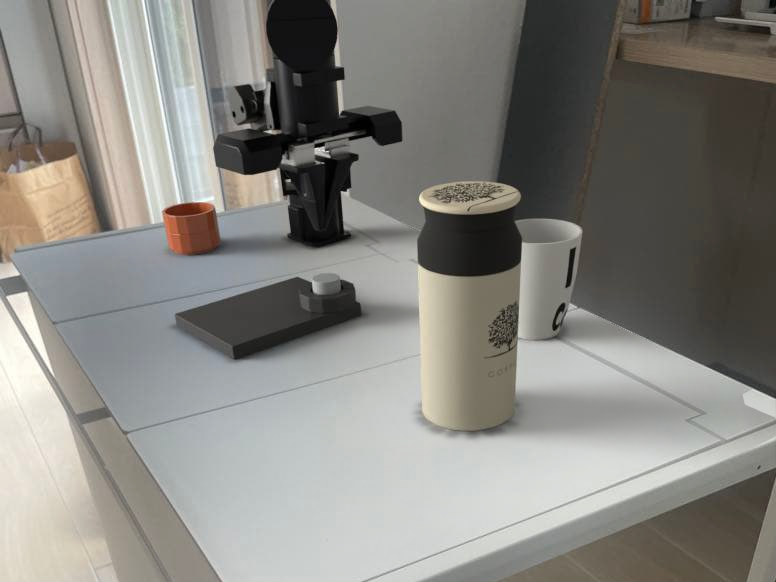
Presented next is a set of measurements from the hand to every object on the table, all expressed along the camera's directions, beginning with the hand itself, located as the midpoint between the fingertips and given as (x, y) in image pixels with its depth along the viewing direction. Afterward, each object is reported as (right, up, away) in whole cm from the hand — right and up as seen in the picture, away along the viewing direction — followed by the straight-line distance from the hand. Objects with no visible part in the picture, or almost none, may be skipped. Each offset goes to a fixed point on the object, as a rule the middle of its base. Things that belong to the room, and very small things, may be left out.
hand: (320, 229), depth 86 cm
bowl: (-19, +7, +27) cm, 34 cm away
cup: (+22, -10, 0) cm, 24 cm away
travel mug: (+14, -21, -13) cm, 29 cm away
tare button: (0, -5, +4) cm, 6 cm away
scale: (-6, -8, +5) cm, 11 cm away
